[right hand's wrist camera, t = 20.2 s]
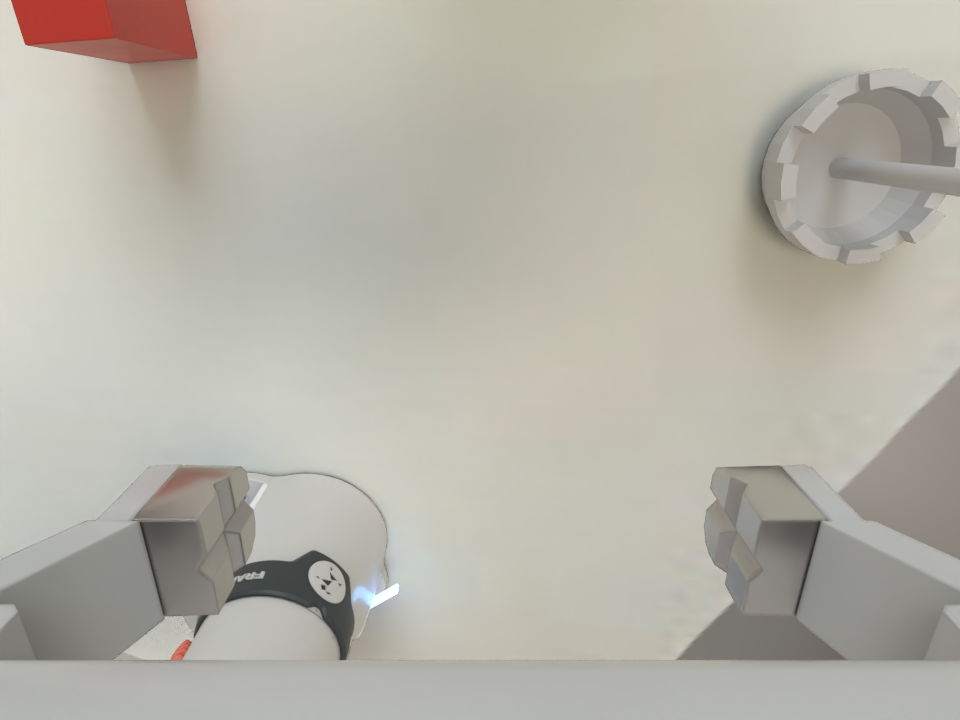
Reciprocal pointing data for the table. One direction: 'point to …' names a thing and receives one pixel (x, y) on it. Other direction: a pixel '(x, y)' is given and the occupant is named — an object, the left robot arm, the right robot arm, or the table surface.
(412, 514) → the table surface
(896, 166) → the flag stand
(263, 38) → the table surface
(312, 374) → the table surface
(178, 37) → the block
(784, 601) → the right robot arm
